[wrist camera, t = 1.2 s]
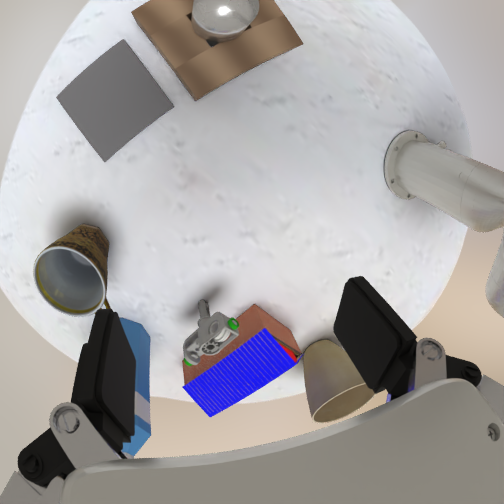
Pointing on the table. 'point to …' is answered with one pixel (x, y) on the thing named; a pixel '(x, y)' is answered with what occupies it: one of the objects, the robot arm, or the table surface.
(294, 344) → the house
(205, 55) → the housing
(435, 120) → the table surface
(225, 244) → the table surface
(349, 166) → the table surface
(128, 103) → the mat
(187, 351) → the mechanical component
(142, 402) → the water bottle
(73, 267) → the ceramic cup
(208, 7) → the grey metal cylinder
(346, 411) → the plant pot
